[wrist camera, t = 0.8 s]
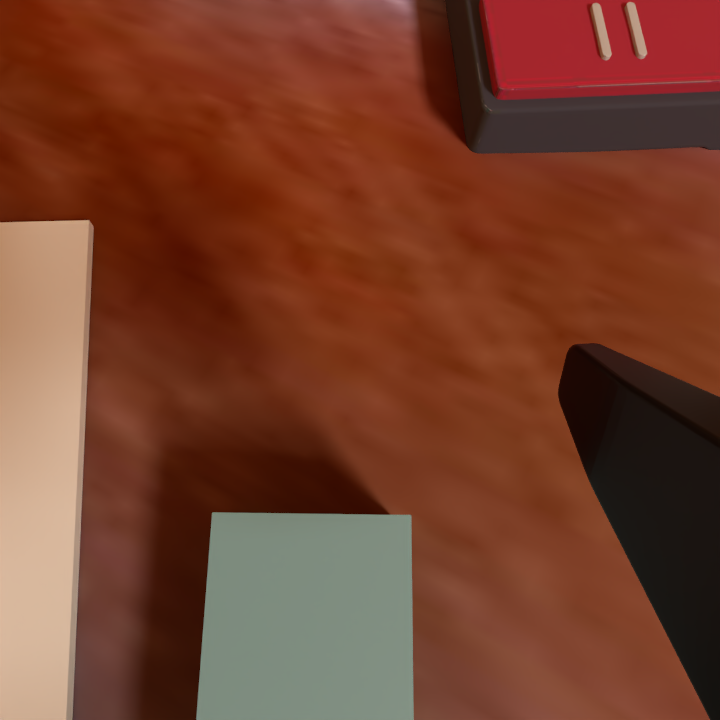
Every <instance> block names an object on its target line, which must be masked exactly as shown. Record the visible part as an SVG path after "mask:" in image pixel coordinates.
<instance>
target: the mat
mask: <svg viewBox="0 0 720 720" xmlns="http://www.w3.org/2000/svg"><path fill="white" fill-rule="evenodd" d="M93 231H94V227H93V225H92V224H91V222H90V221H89V220H75V221H35V222H0V720H72V717H73V694H74V671H75V648H76V624H77V601H78V578H79V555H80V532H81V509H82V486H83V463H84V439H85V416H86V393H87V370H88V347H89V324H90V301H91V278H92V254H93Z"/></svg>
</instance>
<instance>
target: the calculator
mask: <svg viewBox="0 0 720 720" xmlns="http://www.w3.org/2000/svg"><path fill="white" fill-rule="evenodd" d="M445 2H446V9H447V16H448V22H449V29H450V36H451V43H452V50H453V56H454V63H455V70H456V77H457V83H458V90H459V97H460V104H461V111H462V117H463V124H464V131H465V137H466V143H467V146H468V148H469V149H470V150H471V151H472V152H475V153H542V152H595V151H619V150H640V149H662V148H683V147H705V148H706V149H709V150H720V0H445Z"/></svg>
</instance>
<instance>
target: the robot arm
mask: <svg viewBox="0 0 720 720" xmlns="http://www.w3.org/2000/svg"><path fill="white" fill-rule="evenodd" d="M558 396H559V402H560V405H561V408H562V410H563V413H564V416H565V418H566V421H567V424H568V426H569V429H570V432H571V435H572V437H573V440H574V443H575V445H576V448H577V451H578V453H579V456H580V459H581V462H582V464H583V467H584V469H585V472H586V474H587V477H588V479H589V482H590V484H591V486H592V488H593V490H594V492H595V494H596V496H597V498H598V500H599V502H600V504H601V506H602V508H603V510H604V512H605V514H606V516H607V518H608V520H609V522H610V524H611V526H612V528H613V529H614V531H615V533H616V535H617V537H618V539H619V541H620V543H621V545H622V547H623V549H624V551H625V553H626V555H627V557H628V559H629V561H630V563H631V565H632V567H633V569H634V571H635V573H636V575H637V577H638V579H639V581H640V583H641V585H642V586H643V588H644V590H645V592H646V594H647V596H648V598H649V600H650V602H651V604H652V606H653V608H654V610H655V612H656V614H657V616H658V618H659V620H660V622H661V624H662V626H663V628H664V630H665V632H666V634H667V636H668V638H669V640H670V642H671V644H672V645H673V647H674V649H675V651H676V653H677V655H678V657H679V659H680V661H681V663H682V665H683V667H684V669H685V671H686V673H687V675H688V677H689V679H690V681H691V683H692V685H693V687H694V689H695V691H696V693H697V695H698V697H699V699H700V701H701V702H702V704H703V706H704V708H705V710H706V712H707V714H708V716H709V718H710V720H720V397H718V396H716V395H714V394H711V393H709V392H707V391H705V390H702V389H700V388H698V387H696V386H693V385H691V384H689V383H686V382H684V381H682V380H680V379H677V378H675V377H673V376H671V375H668V374H666V373H664V372H661V371H659V370H657V369H655V368H652V367H650V366H648V365H646V364H643V363H641V362H639V361H637V360H634V359H632V358H630V357H627V356H625V355H623V354H621V353H618V352H616V351H614V350H612V349H609V348H607V347H605V346H602V345H600V344H596V343H590V344H575V345H573V346H572V347H570V348H569V350H568V352H567V355H566V359H565V363H564V367H563V371H562V375H561V379H560V384H559V389H558Z"/></svg>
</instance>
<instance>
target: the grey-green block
mask: <svg viewBox="0 0 720 720" xmlns="http://www.w3.org/2000/svg"><path fill="white" fill-rule="evenodd" d="M196 720H414V718H413V630H412V543H411V515H371V514H298V513H225V512H212V520H211V533H210V546H209V559H208V572H207V585H206V598H205V611H204V624H203V637H202V650H201V663H200V676H199V689H198V702H197V715H196Z"/></svg>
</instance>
